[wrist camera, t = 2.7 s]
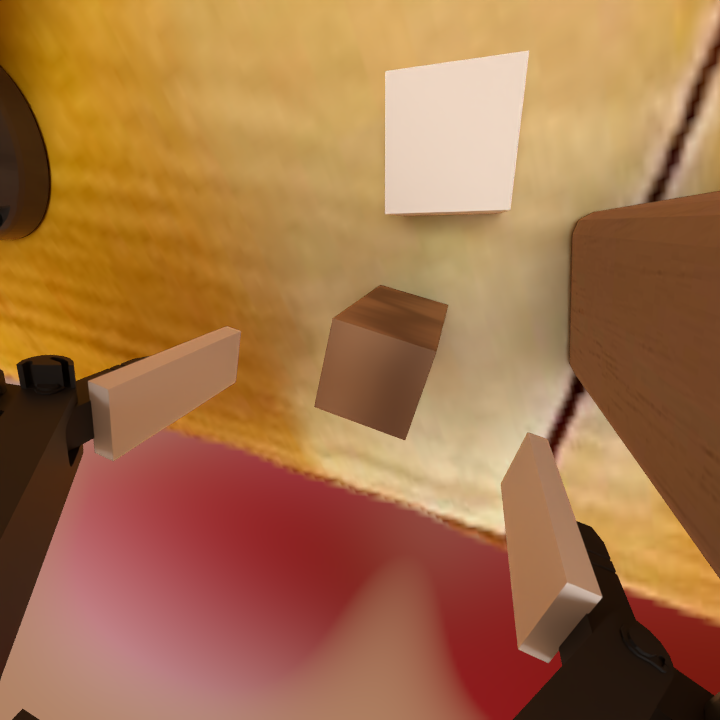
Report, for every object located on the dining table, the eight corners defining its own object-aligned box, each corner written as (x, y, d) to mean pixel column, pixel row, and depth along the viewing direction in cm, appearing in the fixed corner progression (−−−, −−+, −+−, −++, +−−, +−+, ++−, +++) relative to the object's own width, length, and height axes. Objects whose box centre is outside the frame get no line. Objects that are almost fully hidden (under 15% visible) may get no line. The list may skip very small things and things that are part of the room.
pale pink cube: (404, 216, 24) (385, 214, 18) (406, 109, 21) (385, 71, 16) (500, 213, 22) (510, 209, 17) (513, 97, 20) (529, 50, 14)
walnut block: (364, 347, 28) (314, 406, 19) (380, 285, 26) (332, 318, 17) (426, 367, 27) (405, 440, 18) (448, 305, 25) (436, 351, 16)
